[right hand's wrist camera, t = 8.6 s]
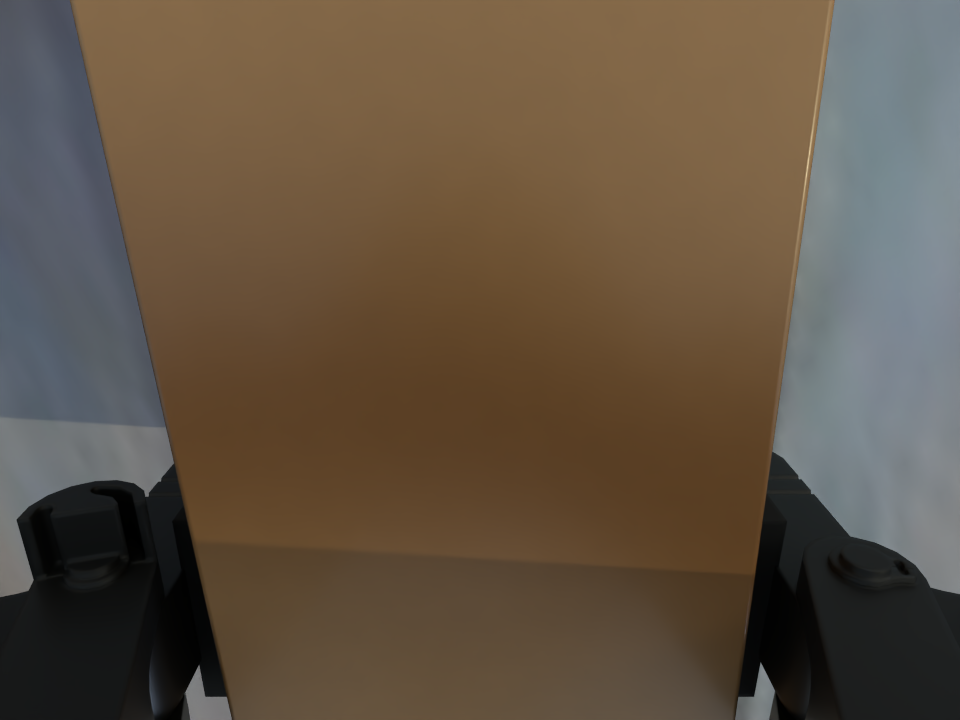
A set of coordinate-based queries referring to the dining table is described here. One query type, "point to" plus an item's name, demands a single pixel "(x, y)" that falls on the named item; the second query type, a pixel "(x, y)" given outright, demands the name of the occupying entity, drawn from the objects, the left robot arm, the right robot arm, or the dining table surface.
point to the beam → (466, 335)
